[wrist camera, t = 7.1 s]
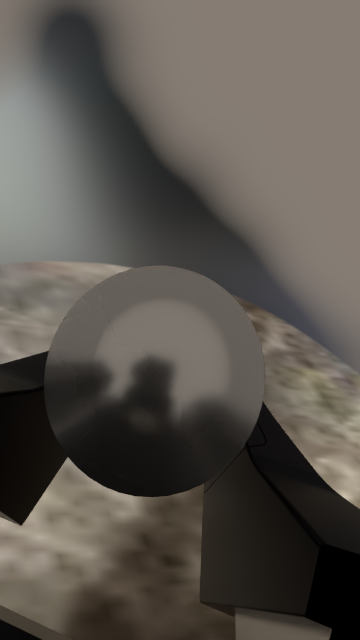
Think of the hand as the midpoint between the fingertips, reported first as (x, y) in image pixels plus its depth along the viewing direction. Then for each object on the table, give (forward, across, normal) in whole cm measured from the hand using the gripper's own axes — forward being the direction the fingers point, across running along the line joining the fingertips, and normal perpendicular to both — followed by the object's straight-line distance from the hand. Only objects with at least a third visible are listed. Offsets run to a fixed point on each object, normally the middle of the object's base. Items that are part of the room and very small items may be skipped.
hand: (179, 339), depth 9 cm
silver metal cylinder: (+4, 0, +6) cm, 7 cm away
